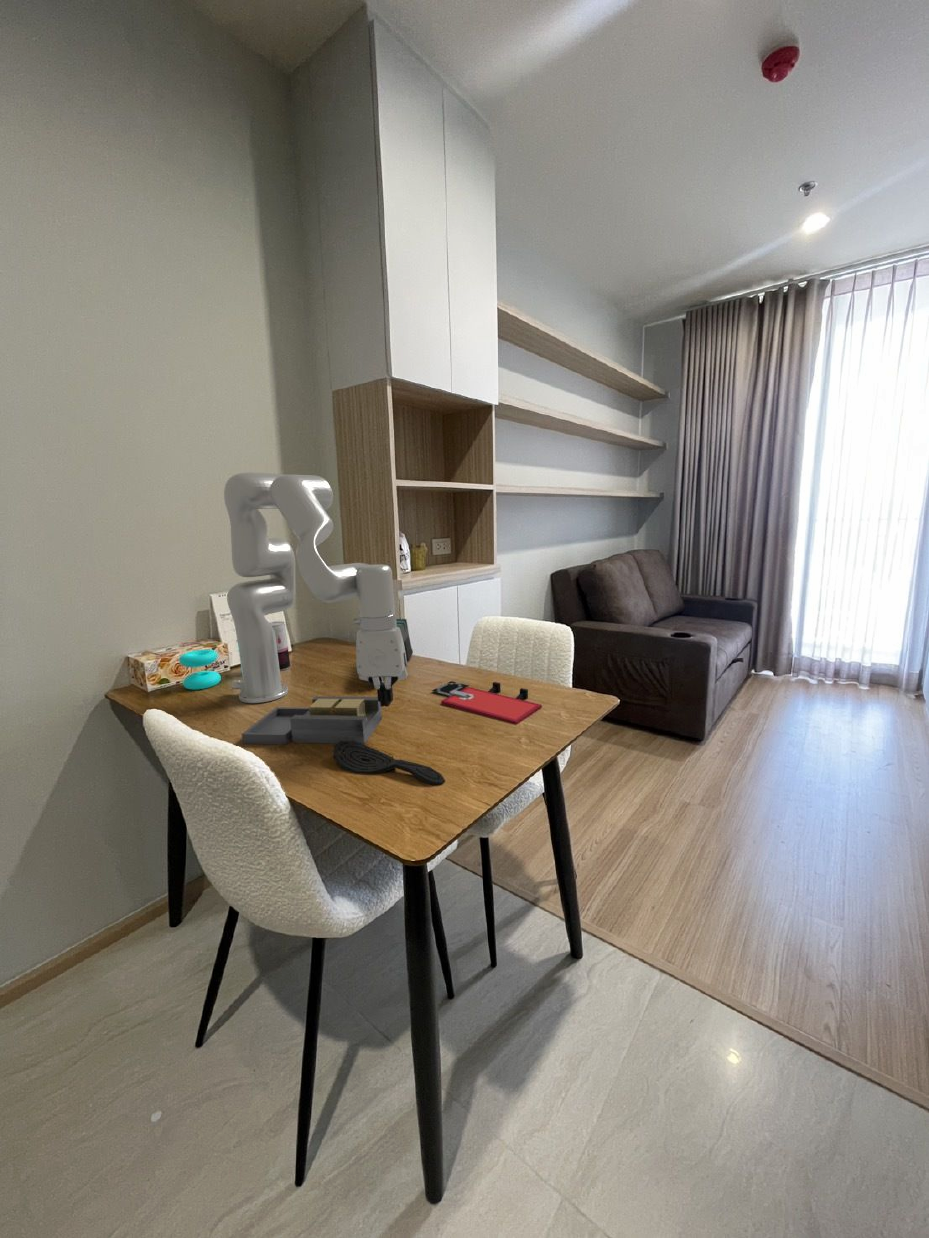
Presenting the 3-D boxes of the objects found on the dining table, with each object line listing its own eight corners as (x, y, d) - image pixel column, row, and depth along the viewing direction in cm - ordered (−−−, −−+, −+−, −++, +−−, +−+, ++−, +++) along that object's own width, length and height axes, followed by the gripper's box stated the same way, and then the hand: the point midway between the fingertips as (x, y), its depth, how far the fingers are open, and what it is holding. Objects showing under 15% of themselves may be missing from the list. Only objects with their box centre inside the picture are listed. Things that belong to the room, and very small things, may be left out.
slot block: (292, 742, 106) (290, 718, 105) (318, 717, 119) (315, 696, 117) (364, 744, 104) (362, 719, 103) (382, 718, 116) (380, 696, 115)
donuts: (223, 650, 146) (189, 659, 138) (228, 682, 148) (194, 693, 140) (205, 646, 151) (171, 655, 143) (210, 677, 153) (177, 687, 145)
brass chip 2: (336, 722, 108) (334, 707, 107) (344, 713, 113) (343, 698, 112) (358, 722, 107) (356, 707, 107) (365, 713, 112) (364, 699, 112)
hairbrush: (431, 782, 83) (322, 746, 95) (431, 801, 84) (323, 764, 96) (455, 760, 90) (351, 730, 102) (455, 778, 91) (352, 746, 103)
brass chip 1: (310, 721, 109) (308, 707, 108) (319, 713, 114) (318, 698, 113) (332, 722, 108) (330, 707, 108) (340, 713, 113) (339, 698, 112)
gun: (414, 651, 167) (407, 613, 160) (391, 708, 142) (381, 666, 135) (396, 651, 169) (388, 613, 161) (369, 708, 144) (359, 666, 136)
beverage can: (290, 664, 164) (284, 620, 161) (290, 669, 158) (285, 624, 155) (269, 667, 162) (263, 622, 159) (269, 672, 156) (263, 626, 153)
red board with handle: (455, 682, 140) (419, 699, 129) (455, 672, 140) (418, 689, 128) (549, 704, 122) (517, 727, 111) (549, 694, 121) (516, 716, 110)
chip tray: (243, 743, 107) (241, 734, 106) (277, 715, 121) (276, 707, 121) (286, 744, 105) (285, 734, 105) (315, 716, 120) (314, 707, 119)
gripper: (338, 627, 102) (347, 711, 106) (408, 626, 100) (415, 710, 104) (351, 620, 109) (359, 698, 113) (416, 618, 107) (422, 698, 111)
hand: (386, 704), depth 108 cm, fingers closed
